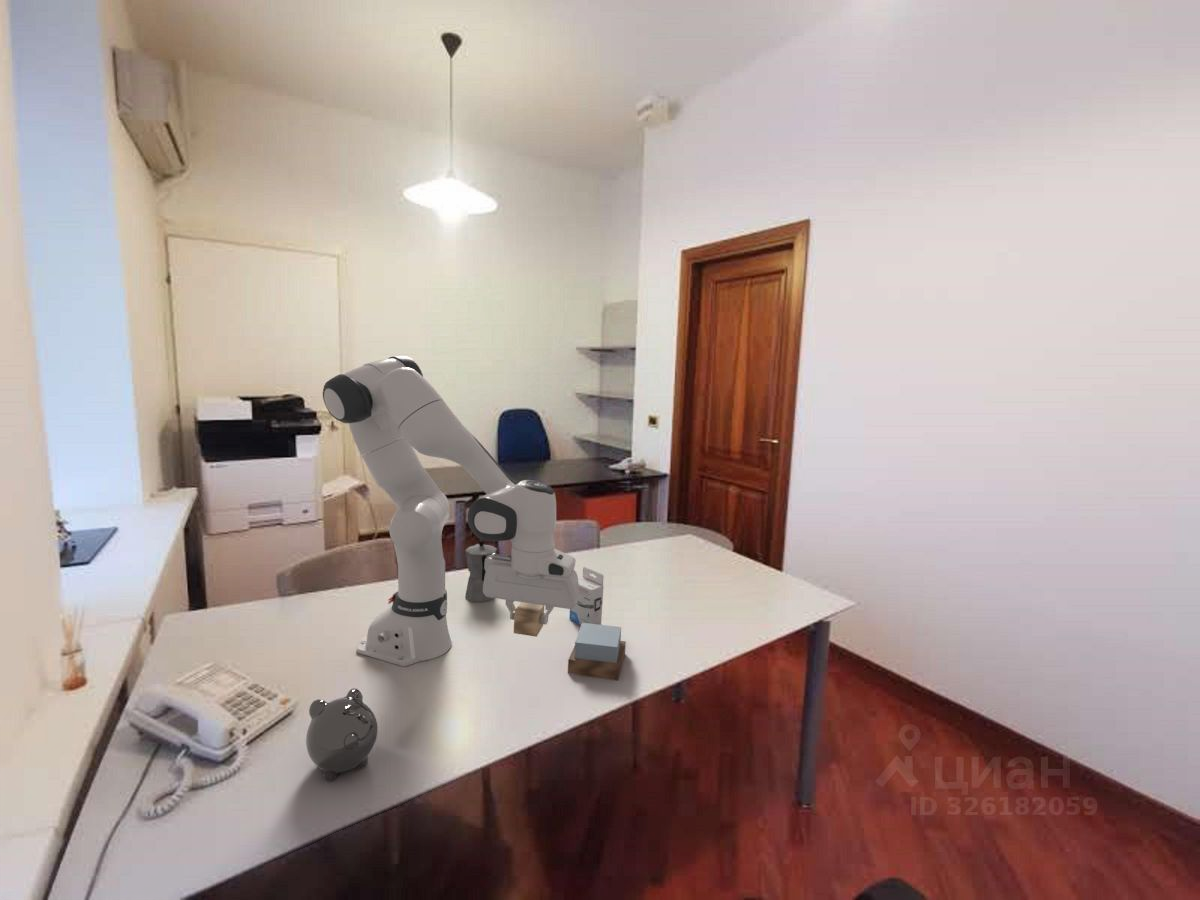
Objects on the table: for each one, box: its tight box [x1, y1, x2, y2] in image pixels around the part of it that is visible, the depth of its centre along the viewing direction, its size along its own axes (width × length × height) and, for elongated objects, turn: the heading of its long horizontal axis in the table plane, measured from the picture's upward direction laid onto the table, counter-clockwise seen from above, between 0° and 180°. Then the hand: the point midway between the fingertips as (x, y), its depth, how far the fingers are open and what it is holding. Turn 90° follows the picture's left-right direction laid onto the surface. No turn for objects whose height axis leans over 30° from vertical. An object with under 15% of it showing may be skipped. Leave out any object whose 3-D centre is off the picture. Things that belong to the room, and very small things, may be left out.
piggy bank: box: [305, 687, 379, 782], centre depth 95 cm, size 11×15×12 cm
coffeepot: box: [464, 539, 498, 603], centre depth 165 cm, size 15×9×18 cm, turn 19°
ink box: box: [569, 566, 605, 626], centre depth 152 cm, size 9×5×15 cm, turn 47°
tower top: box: [574, 623, 622, 663], centre depth 132 cm, size 10×10×4 cm
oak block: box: [513, 602, 545, 637], centre depth 115 cm, size 5×5×5 cm
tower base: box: [567, 640, 627, 682], centre depth 132 cm, size 12×12×4 cm
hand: (529, 620), depth 115 cm, fingers closed on oak block, 5 cm apart
